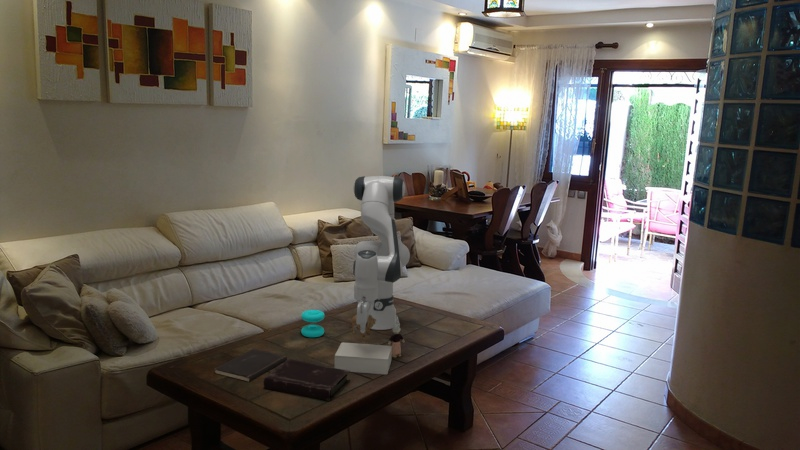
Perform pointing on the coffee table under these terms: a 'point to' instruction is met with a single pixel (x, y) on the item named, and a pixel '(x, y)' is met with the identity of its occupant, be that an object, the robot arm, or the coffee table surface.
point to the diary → (306, 379)
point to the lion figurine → (369, 325)
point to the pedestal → (363, 358)
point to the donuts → (312, 329)
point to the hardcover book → (250, 365)
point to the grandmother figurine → (396, 341)
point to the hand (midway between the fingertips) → (364, 328)
